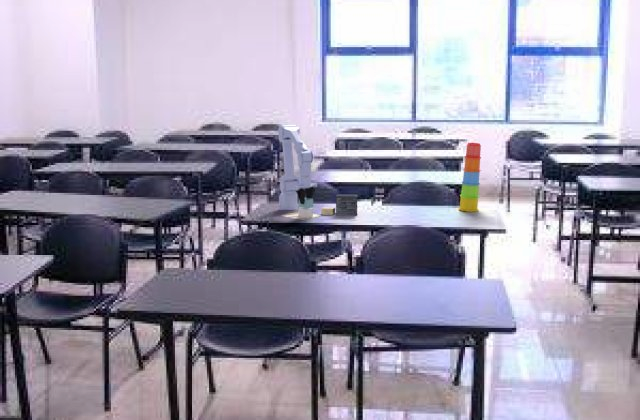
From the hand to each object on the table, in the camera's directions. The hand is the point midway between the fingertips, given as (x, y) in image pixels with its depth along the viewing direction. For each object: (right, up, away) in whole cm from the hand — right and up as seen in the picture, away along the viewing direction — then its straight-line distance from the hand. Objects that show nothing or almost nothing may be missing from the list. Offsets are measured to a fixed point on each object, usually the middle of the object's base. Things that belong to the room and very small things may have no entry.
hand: (305, 203), depth 358 cm
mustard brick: (+11, -6, +7) cm, 15 cm away
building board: (-2, -7, +3) cm, 8 cm away
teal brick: (0, -2, 0) cm, 2 cm away
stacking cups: (+84, -4, +19) cm, 86 cm away
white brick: (0, -6, +1) cm, 7 cm away
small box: (+20, -6, +7) cm, 22 cm away
